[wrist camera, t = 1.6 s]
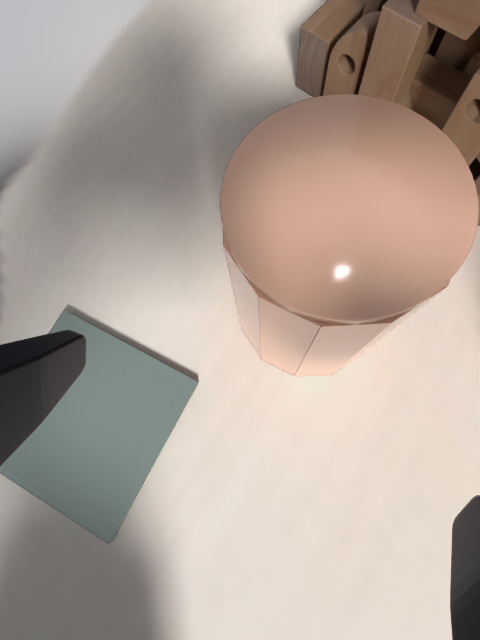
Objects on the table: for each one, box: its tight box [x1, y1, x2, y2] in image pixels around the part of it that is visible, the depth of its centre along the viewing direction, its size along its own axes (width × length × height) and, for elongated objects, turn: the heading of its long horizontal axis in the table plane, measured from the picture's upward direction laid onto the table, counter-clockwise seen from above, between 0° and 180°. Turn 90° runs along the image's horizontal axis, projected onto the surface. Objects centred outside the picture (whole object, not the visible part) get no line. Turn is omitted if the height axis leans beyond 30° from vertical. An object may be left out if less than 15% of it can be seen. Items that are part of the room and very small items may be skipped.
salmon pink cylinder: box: [220, 94, 478, 376], centre depth 17 cm, size 8×8×11 cm
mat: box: [0, 310, 199, 544], centre depth 22 cm, size 9×9×1 cm
